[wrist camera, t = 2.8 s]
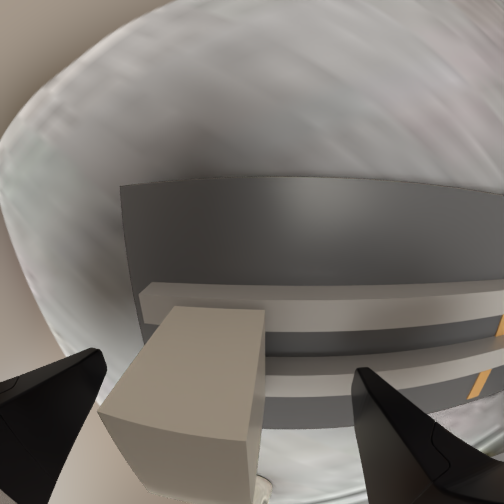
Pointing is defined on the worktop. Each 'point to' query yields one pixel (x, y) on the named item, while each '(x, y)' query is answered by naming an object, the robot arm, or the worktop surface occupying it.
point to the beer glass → (262, 491)
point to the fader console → (332, 282)
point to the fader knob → (194, 406)
